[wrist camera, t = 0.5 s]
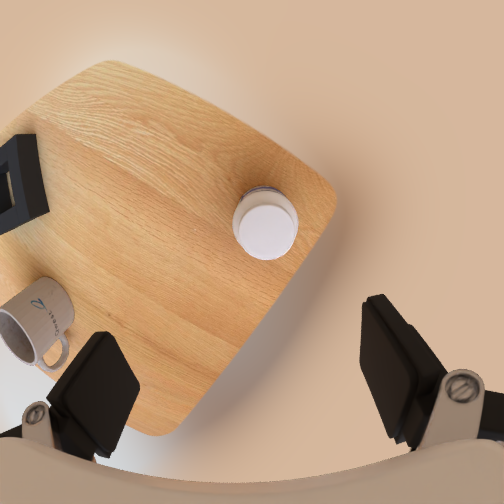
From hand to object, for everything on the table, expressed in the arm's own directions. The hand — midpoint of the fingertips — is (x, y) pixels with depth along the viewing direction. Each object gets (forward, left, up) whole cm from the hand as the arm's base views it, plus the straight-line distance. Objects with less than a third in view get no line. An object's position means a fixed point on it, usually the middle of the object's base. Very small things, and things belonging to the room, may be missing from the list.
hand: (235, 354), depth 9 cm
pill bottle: (-2, 0, -20) cm, 20 cm away
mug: (+28, -16, -20) cm, 38 cm away
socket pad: (+14, -30, -20) cm, 38 cm away
